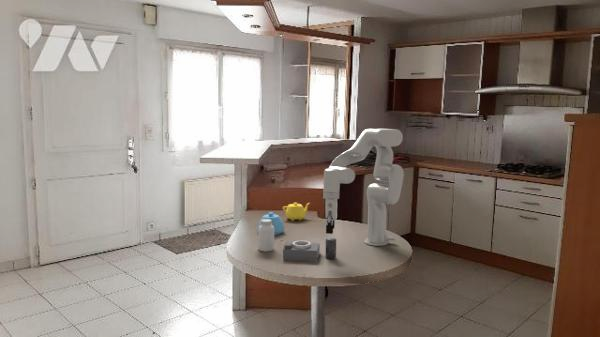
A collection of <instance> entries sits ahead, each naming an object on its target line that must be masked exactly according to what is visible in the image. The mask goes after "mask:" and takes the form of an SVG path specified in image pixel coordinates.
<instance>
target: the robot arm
mask: <svg viewBox="0 0 600 337" xmlns="http://www.w3.org/2000/svg"><path fill="white" fill-rule="evenodd" d="M402 143H403V133H402V131H401V130H400V129H397V128H395V129H394V128H366V129H364V130H363V131H362V132H361V133H360V135H359V136H358V137H357V139H356V140H355V142H354V143H353V144H352V146H351V147H350V148H349V149H348V150H345V151H344V152H342V153H340V154H339V155H338V156H336V157H335V158H334V160H332V161H331V163H330V165H329V166H328V168H325V169H324V170H323V190H322V192H323V193H322V194H323V196H322V199H324V200H325V205H324V206H325V210H324V211H325V220H326V224H325V226H326V227H325V234H329V235H333V233H334V229H335V226H336V225H335V221H336V220H337V218H338V200H339V199H340V187H341V184H345V185H346V184H351V183H353V182H354V180H355V178H356V173H355V171H354V169H352V168H349V167H347V166H349V165H351V164H354V163H358V162H361V161H363V160H365V159H366V158H367V156H368V155H369V153H370V151H371V150H372V149H373V147H375V149H376V158H375V163H374V168H373V174H372V175H373V178H374V179H375V180H376V181H380V182H386V183H388V184H384V183H379V182H375V183H371V184H369V185H368V187H367V188H366V199H367V206H368V207H367V210H368V211H367V237H366V238H365V239H364V244H366V245H369V246H374V247H375V246H376V247H377V246H378V247H382V246H387V245H389V243H390V242H389V241H393V242H394V241H395V240H396V238H395V236H392V235H387V207H386V204H388V205H396V204H397V203H398V202H399V199H400V197H401V192H402V187H403V182H404V177H405V176H404V169H403V167H402V166H401V165H399V164H393V162H394V151H393V149H392V147H399V145H400V144H402Z"/></svg>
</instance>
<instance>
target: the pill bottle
mask: <svg viewBox="0 0 600 337" xmlns="http://www.w3.org/2000/svg"><path fill="white" fill-rule="evenodd" d="M260 220H261V219H260ZM271 224H272V221H271V220H270V219H263V220H261V225H260V226H259V228H258V227H257V231H258V233H257V234H258V237H257V240H258V243H257V244H258V250H259V251H261V252H272V251H273V250H275V235H274V226H273V225H271Z"/></svg>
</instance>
